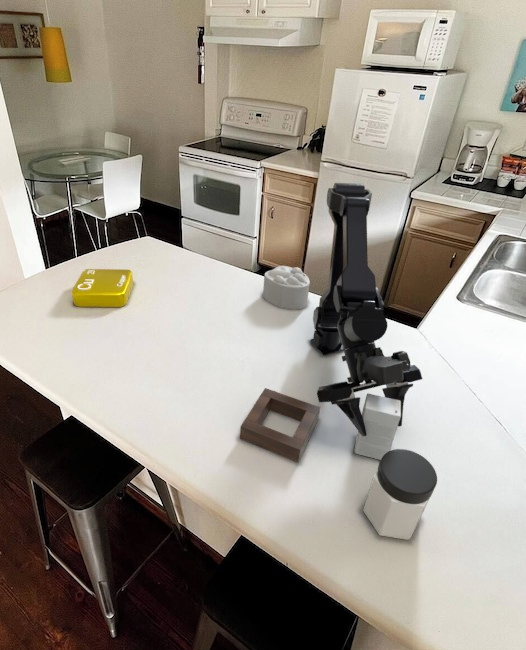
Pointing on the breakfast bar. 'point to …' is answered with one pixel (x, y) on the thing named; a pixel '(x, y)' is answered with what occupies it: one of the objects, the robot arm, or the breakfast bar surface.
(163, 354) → the breakfast bar surface
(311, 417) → the frame
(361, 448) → the cosmetic box
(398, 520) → the jar
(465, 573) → the breakfast bar surface
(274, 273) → the lumpy-topped squat cylinder
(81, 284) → the element tile
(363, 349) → the robot arm
